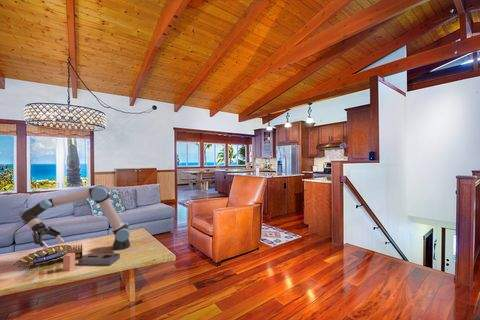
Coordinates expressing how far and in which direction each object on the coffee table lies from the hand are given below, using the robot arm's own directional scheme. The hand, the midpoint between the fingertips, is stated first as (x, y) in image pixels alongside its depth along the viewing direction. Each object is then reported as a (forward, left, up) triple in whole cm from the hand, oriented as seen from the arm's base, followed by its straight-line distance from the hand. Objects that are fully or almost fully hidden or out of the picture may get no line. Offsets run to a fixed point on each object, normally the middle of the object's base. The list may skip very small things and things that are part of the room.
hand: (55, 245), depth 168 cm
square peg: (0, +11, -18) cm, 21 cm away
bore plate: (-13, +26, -18) cm, 34 cm away
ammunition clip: (-17, +2, -18) cm, 25 cm away
